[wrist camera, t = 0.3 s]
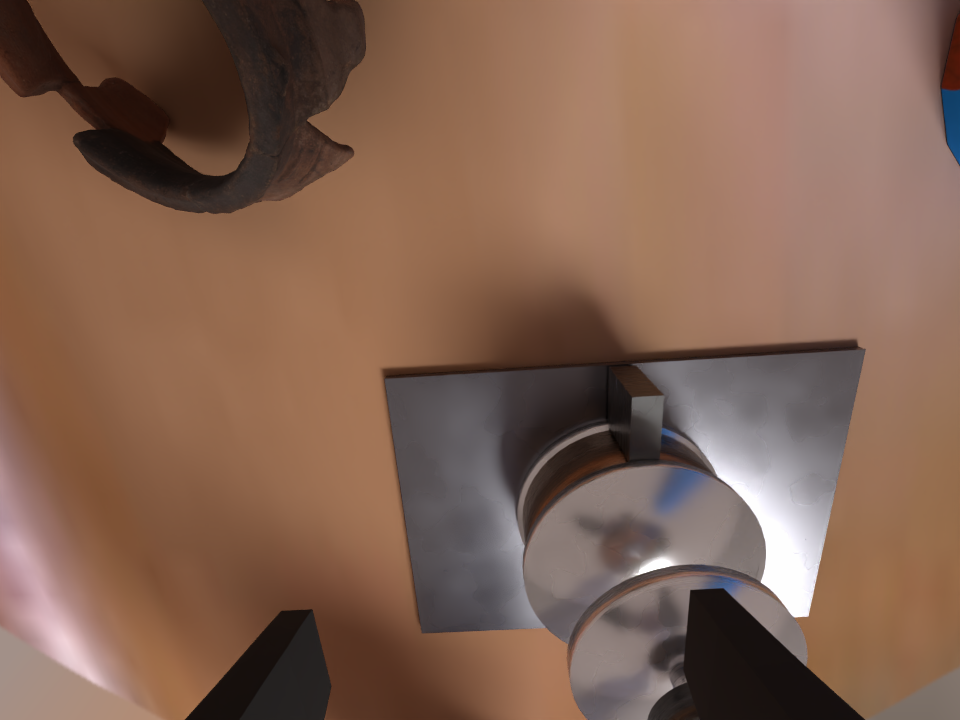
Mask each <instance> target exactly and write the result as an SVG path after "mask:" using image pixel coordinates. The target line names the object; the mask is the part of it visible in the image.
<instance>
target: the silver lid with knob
mask: <svg viewBox="0 0 960 720" xmlns="http://www.w3.org/2000/svg"><path fill="white" fill-rule="evenodd" d="M716 588H724V589H725V590H726V591H727V592H728V593H729V594H730V595H731V596H732V597H733V598H734V599H736V600H737V601H738V602H739V603H740V604H741V605H742V606H743V607H744V608H745V609H746V610H747V611H748V612H749V613H750V614H751V615H752V616H753V617H754V618H755V619H756V620H758V621H759V622H760V623H761V624H762V625H763V626H764V627H765V628H766V629H767V630H768V631H769V632H770V633H771V634H772V635H773V636H774V637H775V638H776V639H777V640H779V641H780V642H781V643H782V644H783V645H784V646H785V647H786V648H787V649H788V650H789V651H790V652H791V653H792V654H793V655H794V656H796V657H797V658H798V659H799V660H800V661H801V662H802V663H803V664H804V665H805V666H806V665H807V645H806V641H805V637H804V635H803V632H802V630H801V628H800V626H799V624H798V623H797V622H796V620H795V619H794V617H793V616H792V615H791V613H790V612H789V611H788V609H787V608H786V607H785V605H784V604H783V603H782V601H781V600H780V599H779V597H778V596H777V595H776V594H775V593H774V592H773V591H772V590H771V589H770V588H768V587H767V586H766V585H764V584H763V583H761V582H760V581H759V580H757V579H755V578H753V577H751V576H749V575H747V574H744V573H741V572H739V571H736V570H733V569H729V568H724V567H720V566H712V565H702V564H687V565H676V566H669V567H664V568H659V569H654V570H651V571H648V572H645V573H641V574H639V575H636V576H634V577H632V578H629V579H627V580H625V581H623V582H621V583H620V584H618V585H616V586H614V587H612V588H611V589H610V590H608V591H607V592H605V593H604V594H603V595H601V596H600V597H599V598H598V599H597V600H596V601H594V602H593V603H592V604H591V605H590V606H589V607H588V609H587V610H586V611H585V612H584V613H583V614H582V616H581V617H580V619H579V620H578V622H577V624H576V625H575V627H574V629H573V632H572V634H571V636H570V640H569V644H568V649H567V665H568V672H569V678H570V683H571V689H572V692H573V696H574V699H575V701H576V703H577V705H578V707H579V709H580V711H581V712H582V713H583V715H584V716H585V717H586V718H587V719H588V720H700V719H699V716H698V713H697V710H696V707H695V704H694V701H693V698H692V695H691V692H690V689H689V686H688V683H687V680H686V677H685V674H684V671H683V666H684V654H685V643H686V632H687V620H688V609H689V598H690V590H696V589H716Z"/></svg>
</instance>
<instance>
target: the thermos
mask: <svg viewBox="0 0 960 720" xmlns="http://www.w3.org/2000/svg"><path fill="white" fill-rule="evenodd" d="M941 90H942V99H943V108H944V118H945V127H946V136H947V144H948V146H949V148H950V149H951V151H952V153H953V155H954V156H955V158H956V160H957V161H958V163H959V165H960V13H959V14H958V16H957V18H956V22H955V27H954V31H953V36H952V40H951V45H950V49H949V54H948V58H947V63H946V67H945V72H944V76H943V81H942V85H941Z"/></svg>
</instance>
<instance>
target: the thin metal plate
mask: <svg viewBox="0 0 960 720" xmlns="http://www.w3.org/2000/svg"><path fill="white" fill-rule="evenodd" d="M865 350H866V349H863V348H861V347H852V348H835V349H819V350H803V351H786V352H770V353H754V354H738V355H721V356H705V357H689V358H672V359H656V360H640V361H624V362H607V363H591V364H575V365H559V366H542V367H526V368H510V369H493V370H477V371H461V372H445V373H428V374H412V375H396V376H386V377H385V386H386V393H387V400H388V406H389V413H390V420H391V427H392V434H393V440H394V447H395V454H396V461H397V468H398V475H399V481H400V488H401V495H402V502H403V509H404V515H405V522H406V529H407V536H408V543H409V549H410V556H411V563H412V570H413V577H414V584H415V590H416V597H417V604H418V611H419V618H420V624H421V631H422V633H440V632H463V631H486V630H509V629H532V628H547V629H548V630H549V631H550V632H551V633H553V634H554V635H555V636H556V637H558V638H559V639H560V640H562V641H564V642H565V643H567V644H569V640H570V636H571V634H572V632H573V629H574V627H575V625H576V624H577V622H578V620H579V619H580V617H581V616H582V614H583V613H584V612H585V611H586V610H587V609H588V607H589V606H590V605H591V604H592V603H593V602H594V601H596V600H597V599H598V598H599V597H600V596H601V595H603V594H604V593H605V592H607V591H608V590H610V589H611V588H612V587H614V586H616V585H618V584H620V583H621V582H623V581H625V580H627V579H629V578H632V577H634V576H636V575H639V574H641V573H645V572H648V571H651V570H654V569H659V568H664V567H669V566H676V565H687V564H702V565H712V566H720V567H724V568H729V569H733V570H736V571H739V572H741V573H744V574H747V575H749V576H751V577H753V578H755V579H757V580H759V581H760V582H761V583H763V584H764V585H766V586H767V587H768V588H770V589H771V590H772V591H773V592H774V593H775V594H776V595H777V596H778V597H779V599H780V600H781V601H782V603H783V604H784V605H785V607H786V608H787V609H788V611H789V612H790V613H791V615H792V616H793V617H807V616H808V615H809V610H810V605H811V601H812V596H813V591H814V587H815V582H816V577H817V573H818V568H819V564H820V559H821V554H822V550H823V545H824V540H825V536H826V531H827V526H828V522H829V517H830V512H831V508H832V503H833V499H834V494H835V489H836V485H837V480H838V475H839V471H840V466H841V461H842V457H843V452H844V447H845V443H846V438H847V434H848V429H849V424H850V420H851V415H852V410H853V406H854V401H855V396H856V392H857V387H858V383H859V378H860V373H861V369H862V364H863V359H864V355H865Z"/></svg>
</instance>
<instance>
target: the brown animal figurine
mask: <svg viewBox="0 0 960 720" xmlns="http://www.w3.org/2000/svg"><path fill="white" fill-rule="evenodd" d="M202 2H203V3H204V5H205V6H206V8H207V9H208V11H209V13H210V14H211V16H212V18H213V20H214V21H215V23H216V24H217V26H218V28H219V30H220V31H221V33H222V35H223V37H224V39H225V41H226V43H227V45H228V48H229V50H230V52H231V55H232V57H233V60H234V63H235V65H236V68H237V71H238V74H239V78H240V81H241V84H242V88H243V90H244V93H245V98H246V104H247V110H248V115H249V135H250V142H249V144H248V147H247V149H246V154H245V156H244V158H243V160H242V161H241V162H240V164H239V166H238V168H237V170H235V171H233V172H231V173H229V174H227V175H224V176H210V175H203V174H201V173H199V172H197V171H196V170H194V169H193V168H191V167H190V166H189V165H187V164H186V163H185V162H184V161H182V160H181V159H180V158H179V157H177V156H176V155H175V154H173V153H172V152H171V151H170V150H169V149H168V148H167V147H166V146H164V145H163V144H162V143H163V141H164V139H165V137H166V131H167V128H168V125H169V117H168V116H167V115H166V114H165V112H164V111H163V110H162V109H161V108H160V107H159V106H157V105H156V104H155V103H154V102H153V101H151V100H150V99H149V98H148V97H147V96H146V95H144V94H143V93H141V92H140V91H138V90H137V89H136V88H134V87H133V86H132V85H130V84H129V83H127V82H126V81H124V80H122V79H120V78H116V77H115V78H109V79H105V80H104V81H102V83H101V84H100V86H99V87H89V86H83V85H82V84H81V83H80V81H79V79H78V78H77V77H76V76H75V74H74V73H73V72H72V71H71V70H70V69H69V67H68V66H67V65H66V63H65V62H64V61H63V59H62V58H61V56H60V55H59V53H58V52H57V50H56V49H55V47H54V46H53V44H52V43H51V41H50V40H49V38H48V37H47V35H46V33H45V32H44V30H43V28H42V27H41V25H40V23H39V22H38V20H37V19H36V17H35V16H34V13H33V11H32V8H31V6H30V5H29V3H28V2H27V0H0V76H1V78H2V79H3V80H4V81H5V82H6V83H7V84H8V85H9V86H10V88H11V89H12V90H13V91H14V92H15V93H16V94H18V95H19V96H20V97H29V96H36V95H41V94H44V93H46V92H47V91H57V92H58V93H59V94H60V95H61V96H62V97H63V98H64V99H65V100H66V101H67V102H68V103H69V104H70V106H71V107H72V108H73V109H74V110H75V111H76V112H77V113H78V114H79V115H80V116H81V117H82V118H84V119H85V120H86V121H87V122H88V123H89V124H91V125H92V126H93V127H94V128H95V129H96V130H87V131H83V132H79V133H76V134H75V135H74V137H73V143H74V145H75V146H76V147H77V148H78V149H79V150H80V152H81V153H82V155H83V156H84V158H85V159H86V160H87V162H88V163H89V164H90V165H91V166H92V167H94V168H95V169H96V170H97V171H99V172H100V173H102V174H104V175H105V176H107V177H109V178H110V179H111V180H112V181H114V182H116V183H118V184H120V185H121V186H123V187H124V188H126V189H128V190H131V191H133V192H135V193H137V194H139V195H141V196H143V197H145V198H147V199H149V200H151V201H153V202H156V203H159V204H161V205H164V206H166V207H170V208H173V209H175V210H181V211H187V212H195V213H204V212H206V211H207V212H209V213H213V214H217V213H231V212H234V211H236V210H238V209H242V208H244V207H247V206H249V205H251V204H253V203H257V202H261V201H262V200H266V201H280V200H283V199H285V198H288V197H290V196H292V195H294V194H295V193H297V192H298V191H301V190H302V189H303V188H304V187H305V186H307V185H309V184H310V183H312V182H314V181H315V180H317V179H319V178H321V177H323V176H324V175H325V174H327V173H329V172H331V171H334V170H336V169H337V168H339V167H340V166H341V165H343V164H344V163H345V162H347V161H348V160H349V159H351V158H352V157H353V156H354V150H353V149H352V148H351V147H350V146H348V145H342V144H338V143H337V142H334V141H332V140H331V139H330V138H329V137H328V136H326V135H325V134H323V133H322V132H321V131H319V130H318V129H317V128H316V127H314V126H312V125H311V124H310V123H309V122H308V121H307V119H308V118H309V117H311V116H313V115H315V114H318V113H320V112H323V111H325V110H327V109H328V108H329V107H330V105H331V104H332V103H333V102H334V101H335V100H336V99H337V98H338V97H339V96H340V94H341V92H342V90H343V88H344V86H345V83H346V80H347V78H348V75H349V73H350V71H351V70H352V69H353V68H355V67H356V66H357V65H358V64H359V63H360V62H361V61H362V59H363V58H364V55H365V51H366V40H365V22H364V15H363V12H362V9H361V7H360V5H359V4H358V3H357V2H356V1H355V0H330V1H327V0H202Z"/></svg>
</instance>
